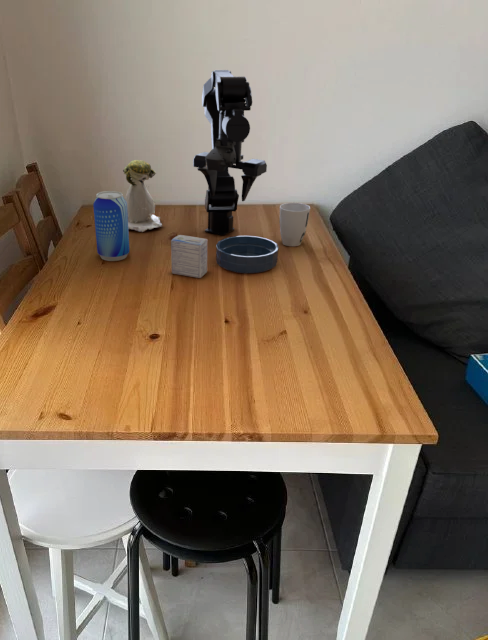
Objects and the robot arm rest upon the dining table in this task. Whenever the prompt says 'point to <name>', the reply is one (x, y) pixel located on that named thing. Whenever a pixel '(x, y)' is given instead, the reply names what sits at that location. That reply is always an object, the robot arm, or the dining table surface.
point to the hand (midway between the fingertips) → (227, 198)
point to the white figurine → (140, 197)
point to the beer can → (111, 225)
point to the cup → (293, 222)
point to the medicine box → (189, 256)
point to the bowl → (246, 254)
